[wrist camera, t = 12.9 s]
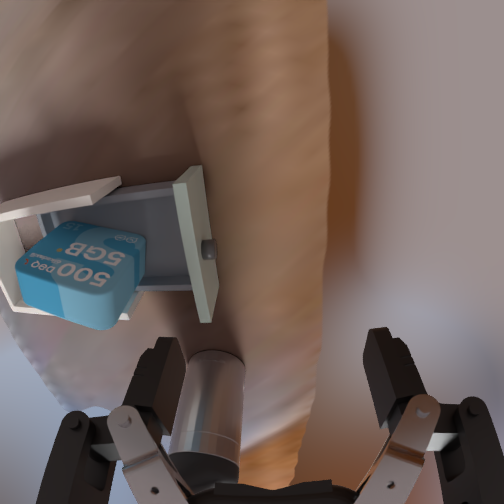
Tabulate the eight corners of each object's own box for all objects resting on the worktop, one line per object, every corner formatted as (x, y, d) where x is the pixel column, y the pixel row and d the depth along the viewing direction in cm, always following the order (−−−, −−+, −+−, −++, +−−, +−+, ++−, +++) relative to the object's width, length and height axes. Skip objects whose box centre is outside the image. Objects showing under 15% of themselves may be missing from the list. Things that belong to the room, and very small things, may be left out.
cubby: (147, 286, 38) (129, 320, 32) (35, 286, 40) (13, 311, 33) (120, 175, 31) (90, 195, 25) (5, 201, 32) (-25, 220, 26)
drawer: (228, 284, 37) (222, 322, 31) (76, 287, 39) (53, 316, 32) (213, 163, 30) (200, 181, 24) (45, 191, 32) (11, 211, 25)
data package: (150, 235, 33) (106, 297, 23) (148, 268, 35) (110, 335, 25) (66, 218, 32) (8, 266, 22) (68, 249, 35) (18, 302, 24)
